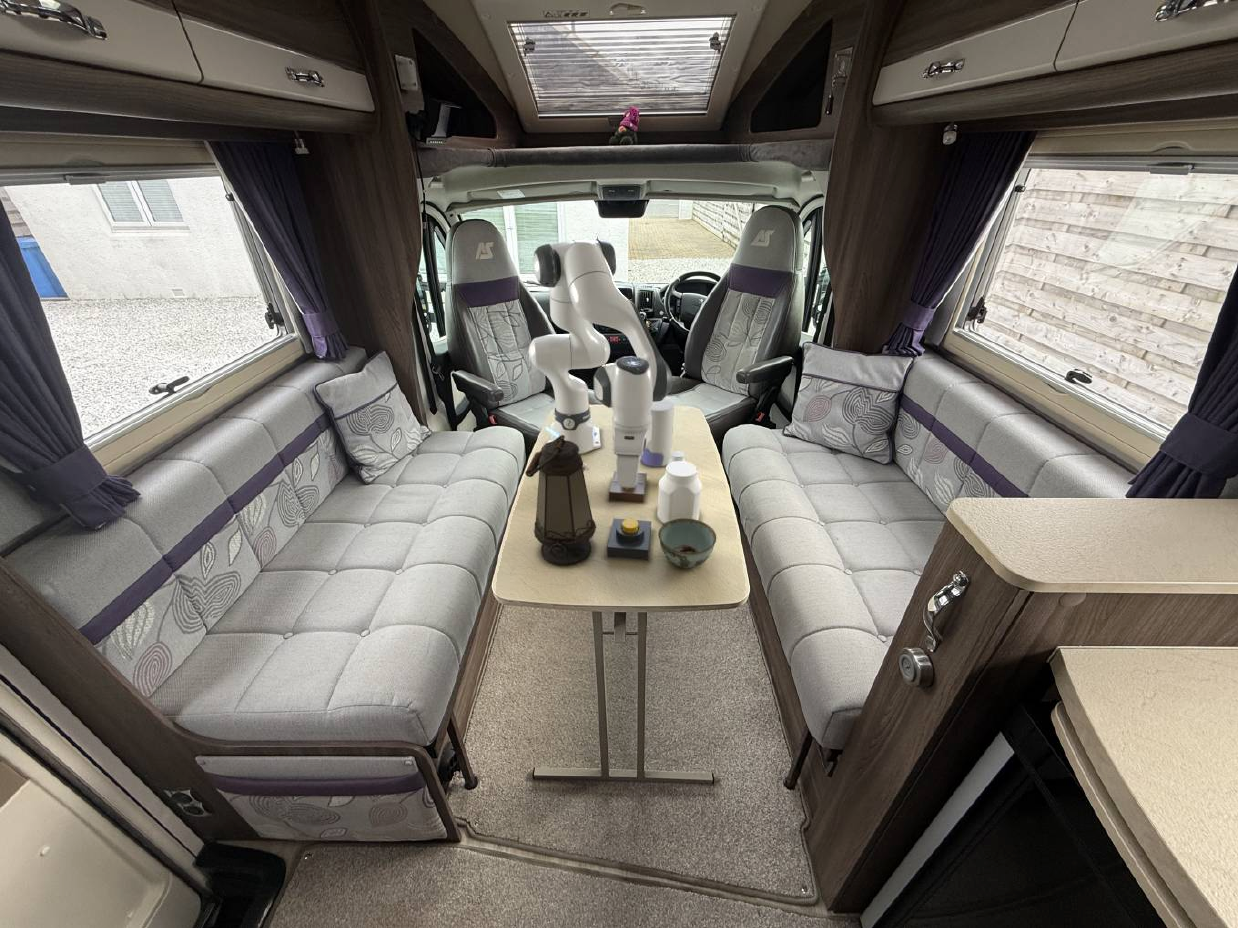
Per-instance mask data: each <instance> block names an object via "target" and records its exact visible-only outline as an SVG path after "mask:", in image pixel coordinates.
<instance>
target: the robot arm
mask: <svg viewBox="0 0 1238 928" xmlns="http://www.w3.org/2000/svg"><path fill="white" fill-rule="evenodd" d="M533 253H534V254H533V259H532V269H533V273H534V277H536V280H537V282H538V283H539V284H540V285H541V286H542V287H545V288H549V289H548V292H549V293H548V294H549V295H548V297H549V315H550V318H551V321H552V322H553V324H555V326H556V327H558V328H559V329H561V330H563V331H566V332H567V333H563V334H562V333H561V334H546V335H542V336H537V337H534V338H533V339H532V340H531V342H530V344H529V346H528V350H527V351H528V359H529V361H530V363H531V364H532V366H533V367H534V368H536V369H537V370H538V371H540V372H542V373H543V374H544V376H546V378H547V379H548V380H549V382H550V384H551V386H552V389H553V395H554V403H555V407H554V413H553V415H554V421H553V422H552V423H551V425H550V427H551V428H549V427H547V426H545V430H546V431H547V432H549V433H550V434H551V438H549V439H548V440H547V443H549V442H552V441H554V440H555V439H557V438H558V437H559V436H561V435H564V436H565V438H564V440H566V441H571V442H573V443H575V444H576V445H577V446H578V447H579V452H578V453H579V454H580V455H582V454H586V453H588V452H591V451H593V450H596V449H600V448H602V445H601V436H600V434H601V433H600V428H599V427H597V426H595V425H594V418H593V416H591V408H590V402H589V387H588V385H587V383H586V382H585V381H584V380H582V379H581V378H579V377H576V376H574V375H572V374H570V373H569V371H570V370H581V369H583V370H584V369H593V368H597V370H596V371H595V373H594V374H593V377H592V382H593V383H592V386H593V387H592V388H593V395H594V398H595V400H596V401H598V402H599V403H600V404H602V405H603V406H605V407H606V408H608V409H609V408H611V409H612V411H613V415H612V418H611V424H612V425H611V435H612V436H611V438H612V441H613V443H612V452H613V453H612V454H614V455H615V461H616V462H615V463H616V471H617V476H618V483H619V486H620V487H624V488H634V487H635V486H636V481H637V475H638V473H639V468H640V463H641V455H643V452H644V450H645V447H646V446H647V444H648V442H650V440H651V435H652V415H651V405H652V402H658V401H662V400H663V399H665V398H666V397H667V396H668V395H669V393H670V391H671V390H672V388H673V374H672V371H671V368H670V367H669V364H668V363H667V362H666V361H665V359H664V357H662V355H661V354H660V351H659V349H658V347H657V345H656V343H655V341H654V339H653V337H652V335H651V333H650V330H649V329H648V326H647V325H646V322H645V321H644V318H643V316H642V315H641V313H640V311H639V309H638V307H637V305H636V304H635V302H633V301H632V300H630V299H628V298H627V297H626V296H625V295H623V294H622V292H621V291H620V290H619V288H618V287H617V285H616V284H615V281H614V278H613V277H614V275H615V274H616V270H617V265H618V264H617V261H618V259H617V254H616V250H615V248H614V246H613V244H612V243H611V242H610V241H609V240H605V239H598V238H597V239H595V240H594V239H573V240H570V241H561V242H556V243H552V244H550V243H546V244H543V245H540V246H538V247H536V249H535V250H534V252H533ZM592 324H593V325H594V324H595V325H599V326H604V327H608V328H611V329H613V330H617V331H619V332H621V333H622V334H624V335H625V336H626V337H627V339H628V341H629V343H630V345H631V347H632V349H633V351H634V354H635V355H636V356H633V355H629V356H622V357H620V358H618V359H616V361H615V362H613V363H607V362H608V360H609V359H610V355H611V347H610V346H611V345H610V343H609V341H608V339H607V338H606V337H605V336H604V334H601V333H600V332H599V331H597V330H596V328H594V326H593V325H592Z"/></svg>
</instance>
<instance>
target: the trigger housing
mask: <svg viewBox="0 0 1238 928" xmlns="http://www.w3.org/2000/svg"><path fill="white" fill-rule="evenodd" d="M626 519H627V518H613V519H612V524H611V529H610V533H609V537H608V541H607V546H606V556H607V558H615V559H626V560H638V561H649V553H650V543H651V536H652V535H651V534H652V521H651V520H641V519H638V520H637V519H635V520H636V521H637V522H638V531H637V532H636V533H625V532H624V531H623V530H622V522H623V521H624V520H626Z"/></svg>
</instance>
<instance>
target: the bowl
mask: <svg viewBox="0 0 1238 928" xmlns="http://www.w3.org/2000/svg"><path fill="white" fill-rule="evenodd" d="M658 539H659V545H660V549H661V551H662V553H663V555H664V557H665V558H666V559H667V560H668V561H669V562H670V563H671V564H673V565H675V566H676V567H678V568H680V569H684V570H690V569H694V568H695V567H698V566H700V565H702V564H703V563H705V562H706V561H707V560H708V559H709V557H710V556H711V555H712V554H713V553H712V552H713V550H714V548H715V545H716V542H717V533H716V532H715V530H714V529H713V527H711V525H708V524H707V523H705V522H703V521H701V520H699V519H698V520H695V519H687V518H681V519H674V520H671V521H668V522H666V523H665V524H664V523H662V525H661V526H660V528H659V530H658Z"/></svg>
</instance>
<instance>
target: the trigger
mask: <svg viewBox="0 0 1238 928" xmlns="http://www.w3.org/2000/svg"><path fill="white" fill-rule="evenodd" d="M625 519H626V520H624V521H623V522H622V530H623V531H624V532H625V533H636V532H637V531H638V522H637V521H636V520H637V519H634V518H625Z"/></svg>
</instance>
